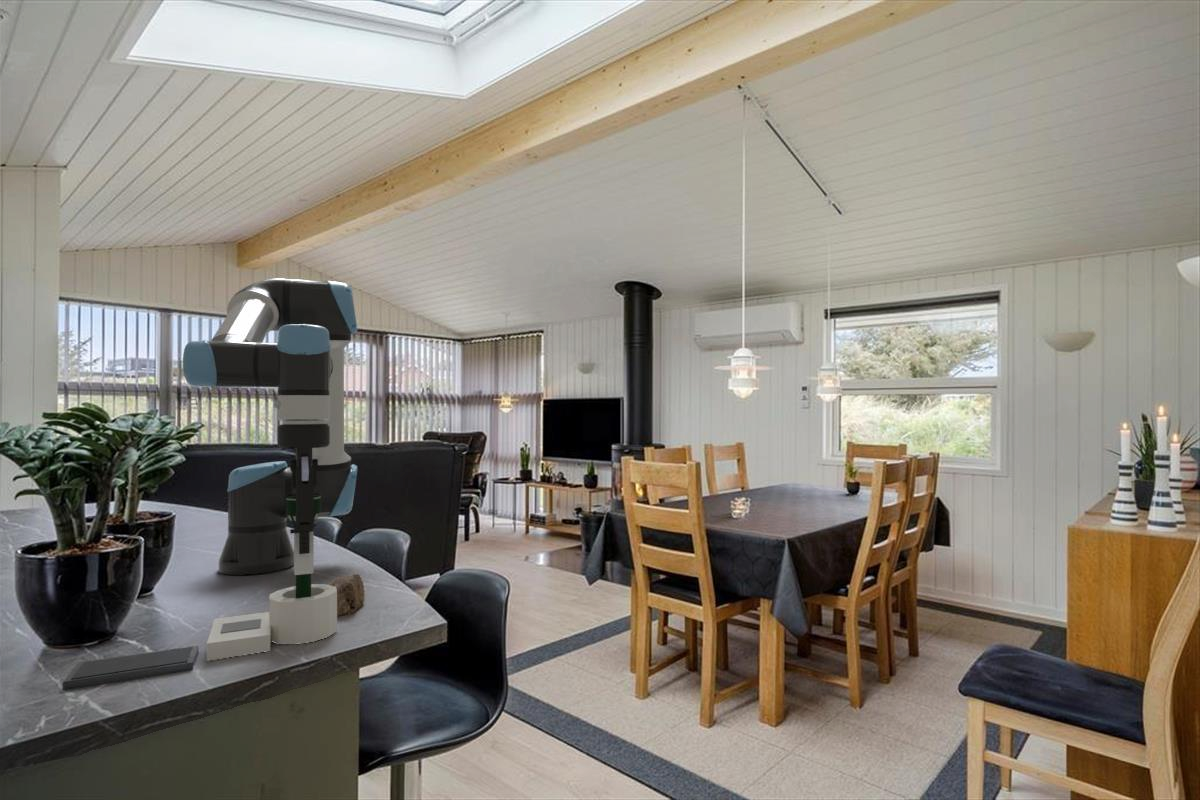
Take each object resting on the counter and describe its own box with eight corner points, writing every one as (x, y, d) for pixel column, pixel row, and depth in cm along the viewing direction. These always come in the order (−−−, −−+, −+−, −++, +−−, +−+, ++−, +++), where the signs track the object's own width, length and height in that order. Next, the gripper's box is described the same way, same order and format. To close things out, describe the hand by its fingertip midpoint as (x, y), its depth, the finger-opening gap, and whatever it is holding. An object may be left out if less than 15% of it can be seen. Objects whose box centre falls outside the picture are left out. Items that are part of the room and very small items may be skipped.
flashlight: (280, 622, 102) (280, 495, 102) (313, 614, 105) (313, 492, 106) (292, 629, 98) (292, 498, 98) (326, 622, 102) (326, 495, 102)
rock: (363, 616, 111) (363, 582, 111) (297, 622, 108) (297, 588, 108) (365, 592, 126) (365, 562, 126) (307, 597, 122) (307, 566, 122)
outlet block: (214, 634, 102) (214, 593, 102) (333, 618, 109) (333, 579, 109) (206, 661, 91) (206, 615, 91) (339, 641, 98) (339, 598, 99)
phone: (78, 669, 88) (78, 661, 88) (198, 652, 94) (198, 644, 94) (62, 689, 82) (62, 681, 82) (192, 669, 88) (192, 661, 88)
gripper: (277, 422, 107) (277, 563, 107) (277, 423, 94) (276, 586, 93) (326, 421, 111) (326, 559, 110) (332, 423, 97) (332, 580, 97)
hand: (303, 571), depth 102 cm, fingers closed on flashlight, 2 cm apart
